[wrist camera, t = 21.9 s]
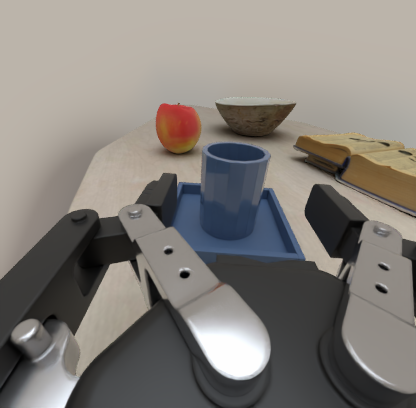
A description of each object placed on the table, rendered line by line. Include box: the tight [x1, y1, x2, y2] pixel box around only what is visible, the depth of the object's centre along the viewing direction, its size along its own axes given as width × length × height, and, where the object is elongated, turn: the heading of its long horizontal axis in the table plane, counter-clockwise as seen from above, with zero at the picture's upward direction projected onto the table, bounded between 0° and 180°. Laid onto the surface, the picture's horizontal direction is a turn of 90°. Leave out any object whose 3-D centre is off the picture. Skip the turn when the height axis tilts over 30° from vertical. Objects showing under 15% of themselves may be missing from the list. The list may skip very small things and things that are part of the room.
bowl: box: [215, 98, 296, 136], centre depth 64 cm, size 24×24×10 cm
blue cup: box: [200, 142, 271, 240], centre depth 22 cm, size 6×6×8 cm
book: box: [293, 133, 416, 216], centre depth 39 cm, size 25×17×6 cm
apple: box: [156, 103, 201, 154], centre depth 44 cm, size 10×10×10 cm
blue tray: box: [171, 182, 305, 264], centre depth 24 cm, size 13×13×2 cm
